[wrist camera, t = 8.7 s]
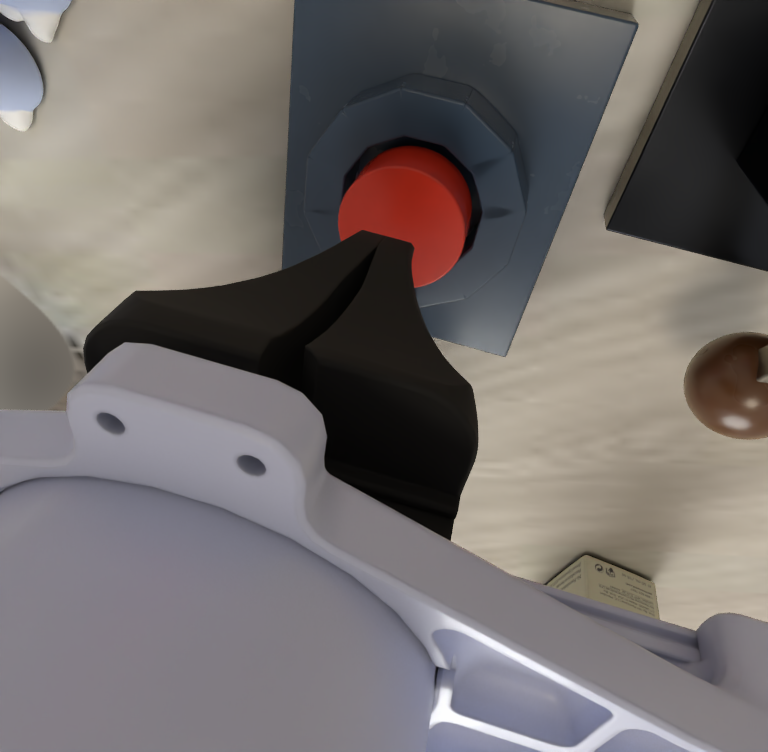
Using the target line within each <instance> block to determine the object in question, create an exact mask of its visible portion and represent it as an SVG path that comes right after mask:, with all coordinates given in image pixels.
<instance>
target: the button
mask: <svg viewBox="0 0 768 752" xmlns="http://www.w3.org/2000/svg"><path fill="white" fill-rule="evenodd" d="M471 216H472V200H471V195H470V191H469V188H468V185H467V183H466V181H465V179H464V177H463V176H462V174H461V173H460V171H459V170H458V169H457V168H456V166H455V165H454V164H453V163H452V162H450V161H449V160H448V159H447V158H445V157H444V156H442V155H441V154H439V153H437V152H435V151H433V150H430V149H427V148H424V147H418V146H399V147H395V148H391V149H388V150H386V151H384V152H382V153H380V154H378V155H377V156H375V157H374V158H373V159H372V160H371V161H370V162H369V163H368V164H367V165H366V166H365V167H364V169H363V170H362V171H361V173H360V174H359V175H358V177H357V178H356V179H355V181H354V182H353V183H352V185H351V186H350V187H349V189H348V190H347V192H346V193H345V195H344V197H343V199H342V202H341V205H340V208H339V214H338V229H339V234H340V239H341V241H343V240H345V239H347V238H348V237H350V236H352V235H354V234H355V233H357V232H359V231H361V230H365V231H369V232H373V233H377V234H380V235H384V236H388V237H392V238H396V239H399V240H403V241H407V242H411V243H412V245H413V246H414V248H415V249H414V253H413V258H412V276H413V283H414V288H416V287H421V286H425V285H428V284H431V283H433V282H435V281H437V280H439V279H440V278H442V277H443V276H444V275H446V274H447V273H448V272H449V271H450V270H451V269H452V268H453V266H454V265H455V264H456V262H457V261H458V259H459V257H460V255H461V253H462V250H463V247H464V243H465V240H466V236H467V232H468V229H469V225H470V221H471Z"/></svg>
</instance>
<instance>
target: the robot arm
mask: <svg viewBox="0 0 768 752" xmlns="http://www.w3.org/2000/svg"><path fill="white" fill-rule="evenodd" d="M414 249H415V248H414V246H413V245H412V243H411V242H407V241H403V240H399V239H396V238H392V237H388V236H384V235H380V234H377V233H373V232H369V231H365V230H361V231H359V232H357V233H355V234H354V235H352V236H350V237H348V238H347V239H345V240H343V241H341V242H340V243H338V244H336V245H334V246H333V247H331V248H329V249H327V250H325V251H323V252H321V253H320V254H318V255H315V256H313V257H311V258H309V259H307V260H304V261H302V262H300V263H298V264H296V265H293V266H291V267H289V268H286V269H283V270H281V271H278V272H275V273H272V274H268V275H265V276H262V277H259V278H255V279H250V280H246V281H241V282H236V283H232V284H227V285H222V286H215V287H207V288H198V289H188V290H163V291H135V292H134V293H132V294H131V295H130V296H129V297H128V298H126V299H125V300H124V301H123V302H122V303H121V304H120V305H118V306H117V307H116V308H115V309H114V310H113V311H112V312H111V313H110V314H109V315H108V316H106V317H105V318H104V319H103V320H102V321H101V322H100V323H99V324H98V325H97V326H96V327H95V328H94V329H93V330H92V331H91V332H90V333H89V334H88V335H87V337H86V341H85V344H84V348H83V350H84V361H85V366H86V370H87V375H86V376H85V377H84V378H83V379H82V380H81V381H80V382H79V383H78V384H77V385H76V386H75V387H74V388H73V389H72V390H71V391H70V392H69V393H68V394H67V410H66V411H49V410H11V409H10V410H9V409H0V752H768V622H764V621H761V620H758V619H754V618H751V617H748V616H744V615H741V614H735V613H719V614H716V615H714V616H712V617H710V618H708V619H707V620H706V621H705V622H704V623H702V624H701V626H700V627H699V628H698V629H697V631H694V630H691V629H688V628H685V627H681V626H678V625H675V624H671V623H668V622H665V621H661V620H658V619H655V618H652V617H648V616H645V615H642V614H638V613H635V612H632V611H628V610H625V609H622V608H619V607H615V606H612V605H609V604H605V603H602V602H599V601H595V600H592V599H589V598H586V597H582V596H579V595H576V594H572V593H569V592H566V591H562V590H559V589H556V588H553V587H549V586H546V585H543V584H539V583H536V582H533V581H529V580H526V579H523V578H520V577H516V576H513V575H511V574H509V573H507V572H505V571H504V570H502V569H500V568H498V567H496V566H495V565H493V564H491V563H489V562H487V561H486V560H484V559H482V558H480V557H478V556H477V555H475V554H473V553H471V552H469V551H467V550H466V549H464V548H462V547H460V546H458V545H457V544H455V543H453V542H451V535H452V529H453V523H454V519H455V518H456V515H457V512H458V507H459V501H460V495H461V493H462V490H463V488H464V486H465V483H466V481H467V478H468V476H469V474H470V471H471V469H472V467H473V464H474V462H475V459H476V455H477V450H478V420H477V412H476V405H475V399H474V393H473V389H472V386H471V385H470V384H469V383H468V382H467V381H466V380H465V379H464V378H463V377H462V376H461V375H460V374H459V373H458V372H457V371H456V370H455V369H454V368H453V367H452V366H451V365H450V364H449V362H448V361H447V360H446V359H445V357H444V356H443V355H442V353H441V352H440V350H439V349H438V347H437V346H436V344H435V342H434V341H433V339H432V337H431V335H430V333H429V331H428V329H427V327H426V324H425V322H424V320H423V317H422V314H421V312H420V308H419V305H418V301H417V298H416V294H415V289H414V283H413V276H412V258H413V253H414Z"/></svg>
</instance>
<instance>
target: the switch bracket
mask: <svg viewBox="0 0 768 752" xmlns="http://www.w3.org/2000/svg"><path fill="white" fill-rule="evenodd" d="M604 219H605V225H606V230H608V231H612V232H616V233H620V234H624V235H628V236H632V237H636V238H640V239H643V240H647V241H651V242H655V243H659V244H663V245H667V246H671V247H675V248H678V249H682V250H686V251H690V252H694V253H698V254H702V255H706V256H710V257H714V258H717V259H721V260H725V261H729V262H733V263H737V264H741V265H745V266H749V267H752V268H756V269H760V270H764V271H768V0H701V1H700V3H699V6H698V8H697V10H696V12H695V14H694V17H693V19H692V21H691V23H690V25H689V28H688V30H687V32H686V34H685V36H684V39H683V41H682V43H681V45H680V47H679V50H678V52H677V54H676V56H675V59H674V61H673V63H672V65H671V67H670V70H669V72H668V74H667V76H666V78H665V81H664V83H663V85H662V87H661V89H660V92H659V94H658V96H657V98H656V100H655V103H654V105H653V107H652V109H651V111H650V114H649V116H648V118H647V120H646V123H645V125H644V127H643V129H642V131H641V134H640V136H639V138H638V140H637V142H636V145H635V147H634V149H633V151H632V153H631V156H630V158H629V160H628V162H627V164H626V167H625V169H624V171H623V173H622V175H621V178H620V180H619V182H618V184H617V187H616V189H615V191H614V193H613V195H612V198H611V200H610V202H609V204H608V206H607V209H606V211H605V213H604Z"/></svg>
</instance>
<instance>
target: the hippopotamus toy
mask: <svg viewBox="0 0 768 752" xmlns="http://www.w3.org/2000/svg"><path fill="white" fill-rule="evenodd" d="M71 1H72V0H0V13H2V14H3V15H4V16H6V17H7V18H9V19H10V20H13V21H17V22H19V21H22V20H24V21H25V22H26V24H27V26H28V28H29V30H30V31H31V32H32V34H33V35H34V36H35V37H36V38H38V39H39V40H41V41H43V42H45V43H50V42H52V40H53V38H54V34H55V32H56V30H57V27H58V25H59V21H60V17H61V15H62V13H63V12H64V11H65V10H66V9H67V8H68V7H69V5H70V3H71ZM42 97H43V82H42V77H41V74H40V71H39V69H38V67H37V65H36V63H35V61H34V59H33V57H32V56H31V54H30V52H29V51H28V50H27V48H26V47H25V46H24V44H23V43H22V42H21V41H20V40H19V39H18V38H17V37H16V36H15V35H14V34H13V33H12V32H11V31H10V30H8V29H7V28H6V27H5V26H3V25H2V24H0V116H1V118H2V119H3V121H4V122H5V123H7V124H8V125H9V126H11V127H12V128H14V129H16V130H19V131H26V130H27V129H28V128H29V127H30V126H31V124H32V121H33V110H34V108H36V107H37V106H38V105H39V104H40V102H41V100H42Z"/></svg>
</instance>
